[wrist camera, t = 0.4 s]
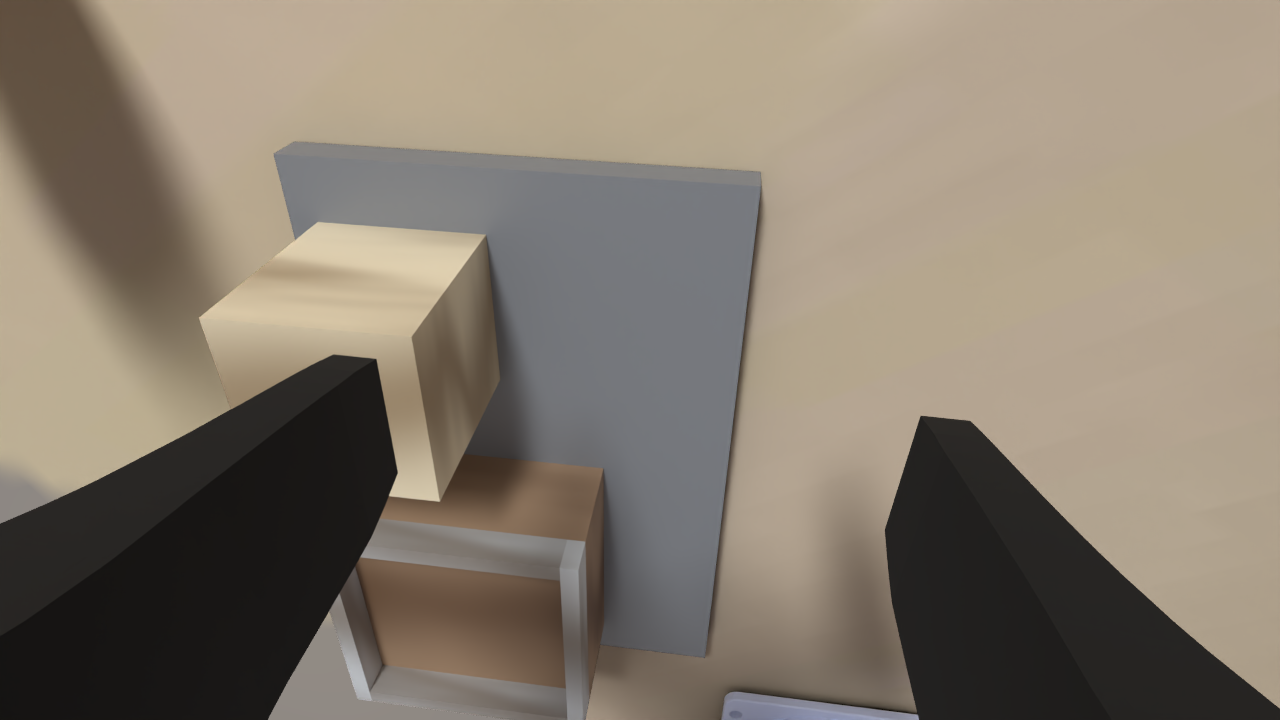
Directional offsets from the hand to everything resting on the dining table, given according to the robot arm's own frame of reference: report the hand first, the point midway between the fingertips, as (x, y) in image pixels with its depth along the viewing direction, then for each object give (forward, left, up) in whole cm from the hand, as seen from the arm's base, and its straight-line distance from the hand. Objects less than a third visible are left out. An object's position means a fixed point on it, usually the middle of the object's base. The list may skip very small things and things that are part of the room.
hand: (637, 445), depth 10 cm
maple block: (-4, +7, -9) cm, 12 cm away
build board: (-9, +4, -10) cm, 14 cm away
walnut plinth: (-13, +6, -10) cm, 17 cm away
